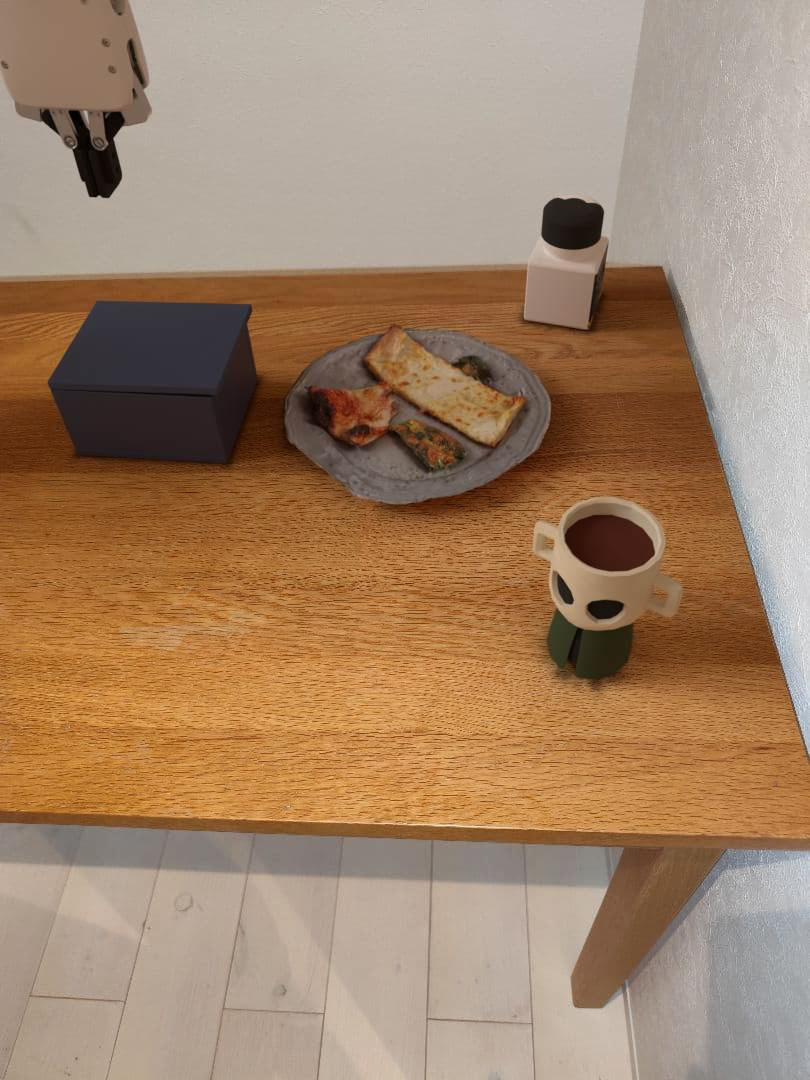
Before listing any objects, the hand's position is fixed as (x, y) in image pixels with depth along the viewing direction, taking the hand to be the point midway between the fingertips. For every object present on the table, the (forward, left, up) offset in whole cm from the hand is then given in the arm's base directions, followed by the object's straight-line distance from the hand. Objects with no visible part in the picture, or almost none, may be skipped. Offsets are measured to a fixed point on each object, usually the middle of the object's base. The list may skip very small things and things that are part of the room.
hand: (105, 189), depth 75 cm
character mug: (+42, -28, -21) cm, 55 cm away
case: (+2, -4, -21) cm, 22 cm away
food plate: (+26, -3, -21) cm, 34 cm away
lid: (+2, -4, -13) cm, 14 cm away
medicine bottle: (+40, +17, -21) cm, 48 cm away
